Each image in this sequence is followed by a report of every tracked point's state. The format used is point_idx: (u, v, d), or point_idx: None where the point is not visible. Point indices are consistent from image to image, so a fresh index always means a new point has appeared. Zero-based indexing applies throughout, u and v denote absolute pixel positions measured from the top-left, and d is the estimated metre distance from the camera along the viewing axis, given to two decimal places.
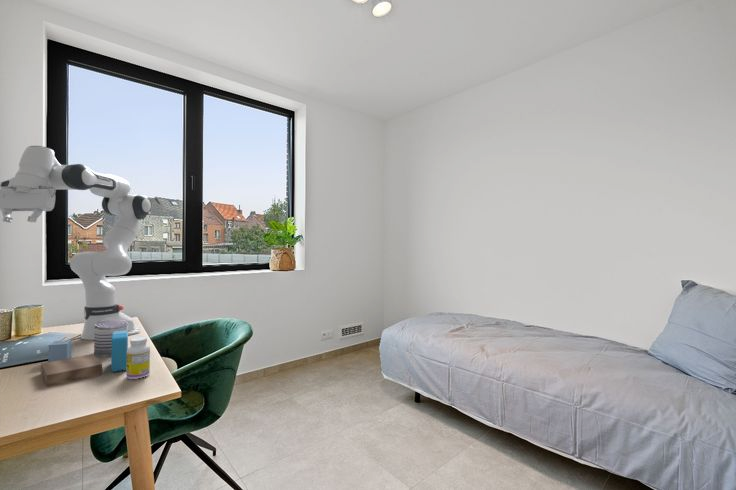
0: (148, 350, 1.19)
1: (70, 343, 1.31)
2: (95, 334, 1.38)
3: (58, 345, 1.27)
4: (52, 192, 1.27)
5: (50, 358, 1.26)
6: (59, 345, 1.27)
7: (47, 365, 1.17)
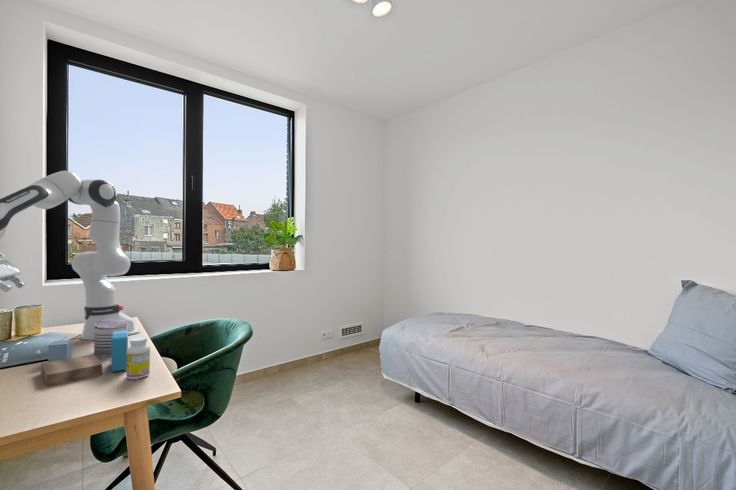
0: (148, 350, 1.19)
1: (70, 343, 1.31)
2: (95, 334, 1.38)
3: (58, 345, 1.27)
4: None
5: (50, 358, 1.26)
6: (59, 345, 1.27)
7: (47, 365, 1.17)
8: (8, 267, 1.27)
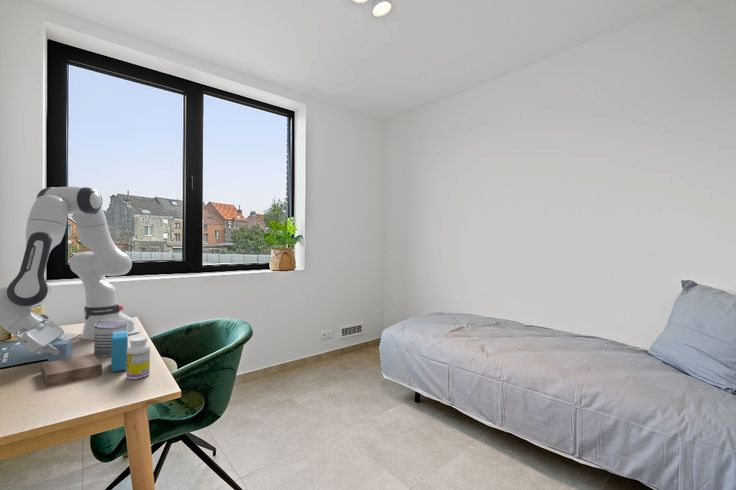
0: (148, 350, 1.19)
1: (70, 343, 1.31)
2: (95, 334, 1.38)
3: (58, 345, 1.27)
4: None
5: (50, 358, 1.26)
6: (59, 345, 1.27)
7: (47, 365, 1.17)
8: (53, 328, 1.33)
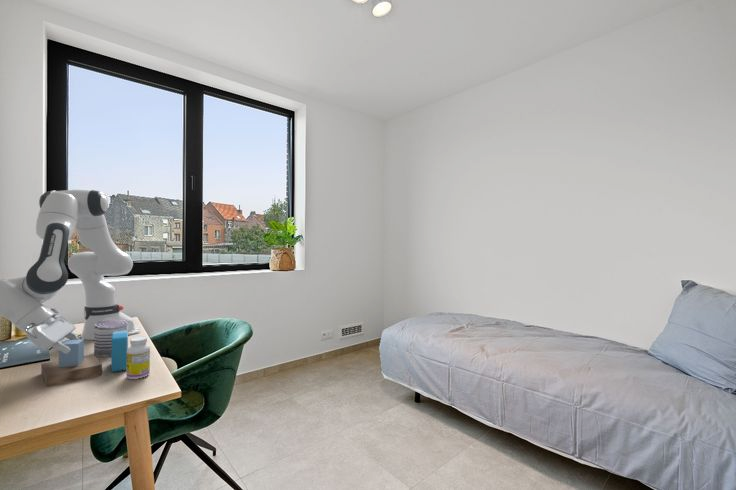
0: (148, 350, 1.19)
1: (82, 343, 1.21)
2: (95, 334, 1.38)
3: (69, 345, 1.17)
4: None
5: (61, 359, 1.16)
6: (70, 345, 1.17)
7: (47, 365, 1.17)
8: (64, 324, 1.23)
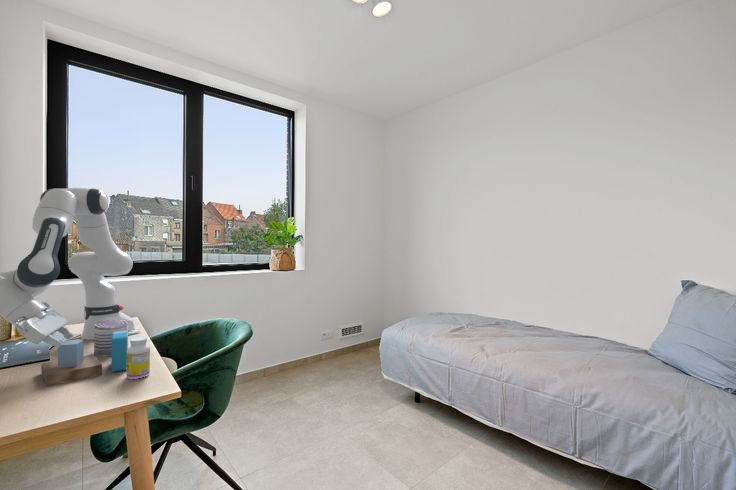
0: (148, 350, 1.19)
1: (81, 343, 1.21)
2: (95, 334, 1.38)
3: (68, 345, 1.17)
4: None
5: (60, 360, 1.16)
6: (69, 345, 1.17)
7: (47, 365, 1.17)
8: (56, 318, 1.22)
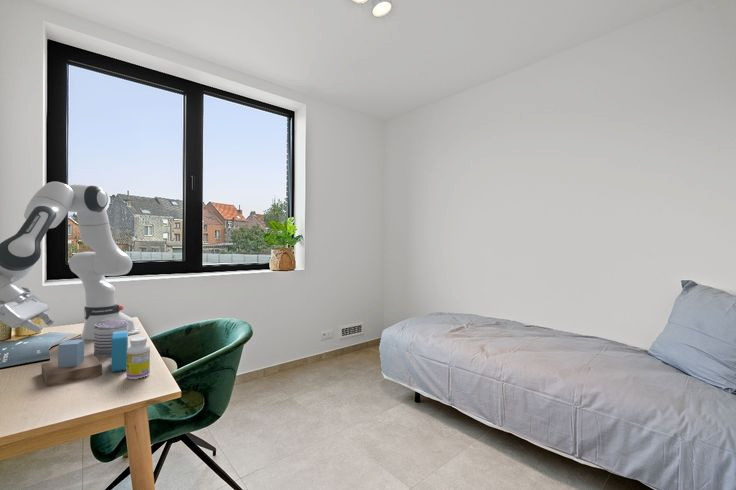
0: (148, 350, 1.19)
1: (82, 343, 1.21)
2: (95, 334, 1.38)
3: (68, 345, 1.17)
4: None
5: (60, 359, 1.16)
6: (69, 345, 1.17)
7: (47, 365, 1.17)
8: (36, 303, 1.20)
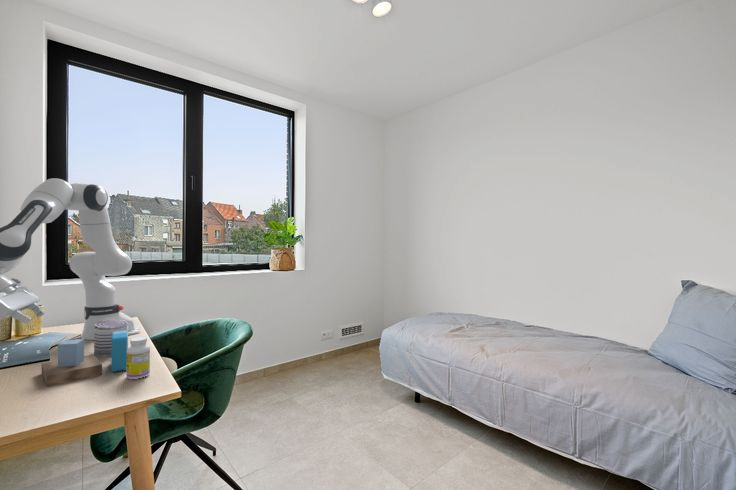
0: (148, 350, 1.19)
1: (82, 343, 1.21)
2: (95, 334, 1.38)
3: (68, 345, 1.17)
4: None
5: (60, 359, 1.16)
6: (69, 345, 1.17)
7: (47, 365, 1.17)
8: (27, 294, 1.19)
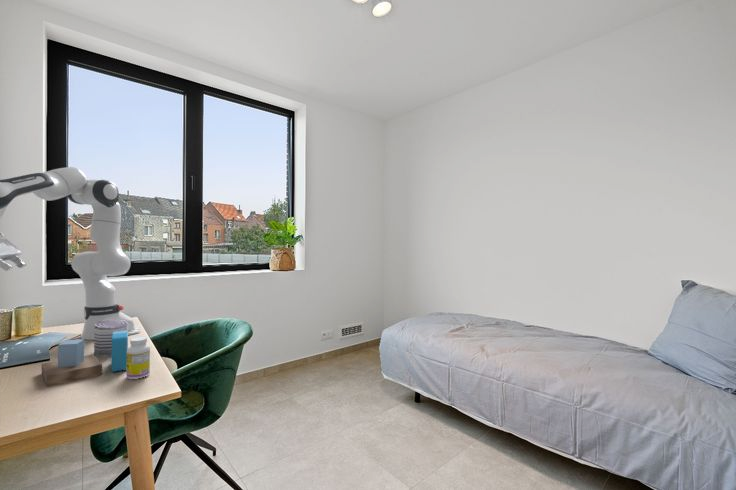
0: (148, 350, 1.19)
1: (82, 343, 1.21)
2: (95, 334, 1.38)
3: (68, 345, 1.17)
4: None
5: (60, 359, 1.16)
6: (69, 345, 1.17)
7: (47, 365, 1.17)
8: (8, 246, 1.24)
